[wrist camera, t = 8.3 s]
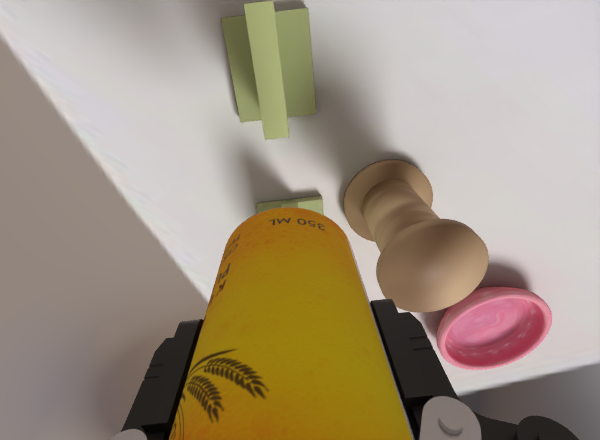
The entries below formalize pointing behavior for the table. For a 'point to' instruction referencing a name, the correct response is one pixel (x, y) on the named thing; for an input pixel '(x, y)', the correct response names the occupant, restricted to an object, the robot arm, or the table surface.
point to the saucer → (493, 327)
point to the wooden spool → (413, 238)
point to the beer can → (290, 342)
